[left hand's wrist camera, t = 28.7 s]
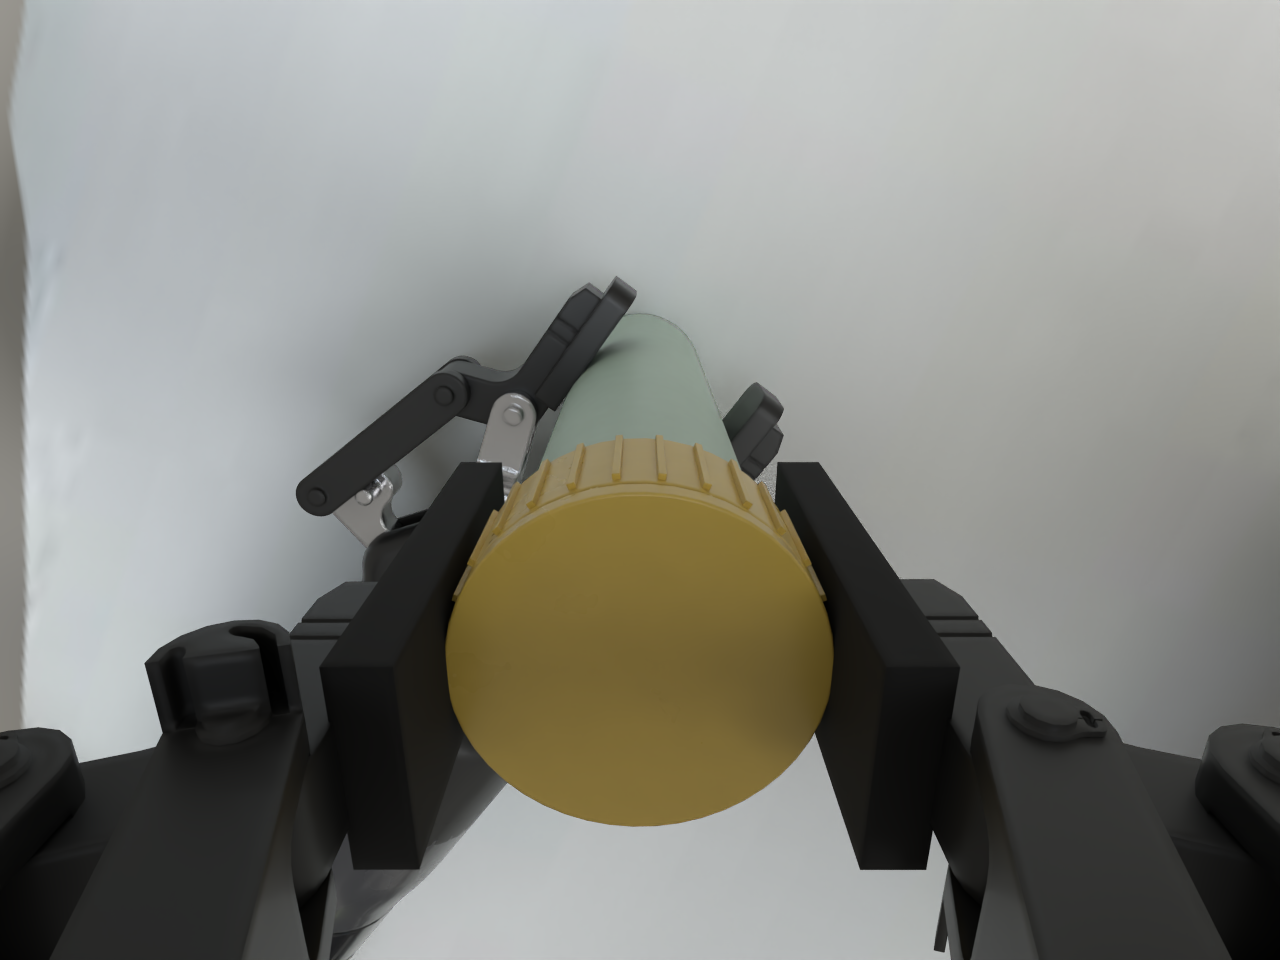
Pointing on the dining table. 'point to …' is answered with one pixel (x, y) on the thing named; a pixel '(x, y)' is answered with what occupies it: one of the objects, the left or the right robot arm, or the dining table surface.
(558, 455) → the green bottle
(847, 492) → the dining table surface
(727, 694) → the lid
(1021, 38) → the dining table surface
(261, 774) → the left robot arm
